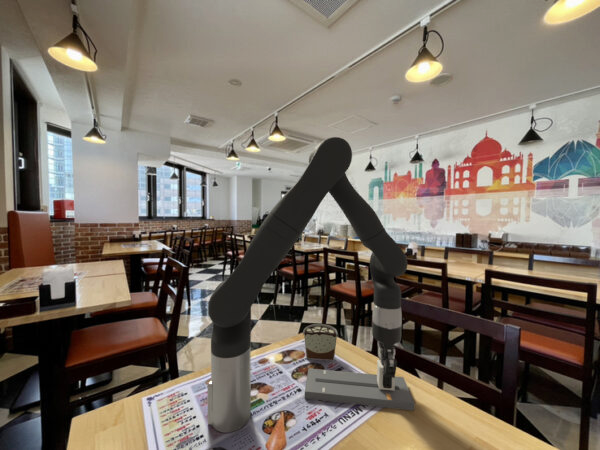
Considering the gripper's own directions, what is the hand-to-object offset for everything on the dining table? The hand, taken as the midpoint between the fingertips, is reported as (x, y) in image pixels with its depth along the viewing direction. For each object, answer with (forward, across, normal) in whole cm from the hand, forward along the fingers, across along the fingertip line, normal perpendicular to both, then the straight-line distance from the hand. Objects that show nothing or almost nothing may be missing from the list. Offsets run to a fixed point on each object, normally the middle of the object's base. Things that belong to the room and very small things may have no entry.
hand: (385, 381), depth 67 cm
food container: (+4, -16, -19) cm, 25 cm away
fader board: (+3, 0, -8) cm, 9 cm away
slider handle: (+1, 0, 0) cm, 1 cm away
